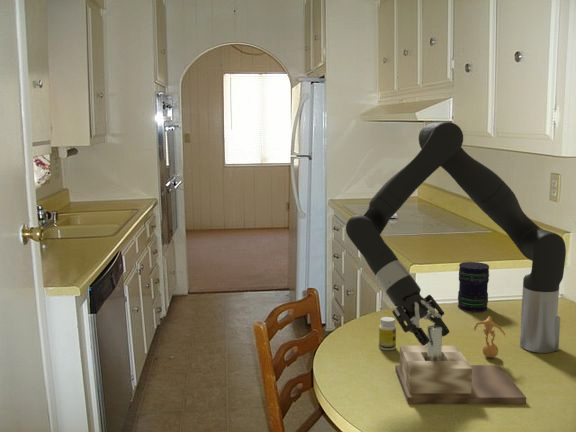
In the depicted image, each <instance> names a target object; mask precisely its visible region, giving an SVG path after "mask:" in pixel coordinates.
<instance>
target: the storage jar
mask: <svg viewBox="0 0 576 432" xmlns="http://www.w3.org/2000/svg"><path fill="white" fill-rule="evenodd" d="M458 266H459V269H458V282H459V286H458V288H459V289H458V290H459V291H458V293H457V303H458V304H457V309H459V310H461V311H464V312H468V313H483V312H486V311H488V303H489V293H488V287H489V285H488V284H489V281H490V278H489V277H490V273H489V272H490V270H489V269H490V265H489V264H488V263H483V262H477V261H476V262H475V261H467V262H466V261H464V262H461V263H459V265H458Z"/></svg>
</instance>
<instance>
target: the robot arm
mask: <svg viewBox="0 0 576 432" xmlns="http://www.w3.org/2000/svg"><path fill="white" fill-rule="evenodd" d="M463 142H464V133H463V131H462V129H461V127H460V126H459V125H458V124H456V123H454V122H450V121H435V122H430V123H429V124H426V125H424V126H423V127H422V128H421V130H420V132H419V134H418V144H419V147H420V149H421V150H419V152H418V153H417V154H416V156H415V157H413V158H412V160H411V161H409V162H408V163H407V164H406V165H405V166H404V167H403V168H402V169H400V170H399V171H398V172H396V173H395V174H394V175H392V177H390V178H389V179H388V180H387V181H386V182H385V184H383V186H382V187H381V188H379V190H378V191H377V192H376V193H375V194H374V196H373V197H372V198H371V200H370V201H369V204H368V209H367V210H366V212H365V213H364V214H356V215H353V216H351V217H350V218H349V219H348V220H347V222H346V225H345V232H346V235H347V237H348V238H349V240H350V241H351V242H352V244H353V245H354V246H355V248H356V249H357V250H358V251H359V252H360V254H361V255H362V256H363V258H364V259H365V261H366V263H367V265H368V267H369V268H370V270H371V272H372V273H373V274H374V276H375V277H376V279H377V281H378V283H379V285H380V287H382V289H383V291H384V292H385V294H386V295H387V296H388V298H389V299H390V301H391V303H392V304H393V305H394V307H395V309H393V310H392V311H391V312H392V314H393V316H394V319H395V320H397V322H398V324H399V326H400V327H401V330H402V331H403V332H405V333H408V332H410V333H412V334H413V335H414V337H415V338H416V339H417V341H418V343H420V344H421V346H427V343H428V342H429V341H430V340H429V338H428V337H427V333H425V331H424V329H423V328H422V327H420V319H424V320H427V321H429V322H432V323H433V326H440V327H442V337H445V336H447V335H448V334H449V333H450V330H449V327H448V326H447V325H446V323H445V322H444V321H443V319H442V318H443V316H444V315H445V312H444V310H443V309H442V308H441V307H440V305H439V304H438V302H437V301H436V300H435V299H434V297H433V295H431V294H428V295H426V296H425V297H423V296H422V295H421V287H420V286H419V284H418V283H417V281H416V280H415V279H414V277H413V276H412V274H410V272H409V271H408V269H407V267H405V265H404V264H403V263H402V262H401V261H400V259H398V257H397V255H396V254H395V253H394V251H393V250H392V248H390V246H389V245H388V244H387V243H386V242H385V240H384V239H383V237H382V235H381V234H382V233H383V231H384V230H385V228H386V226H387V225H388V223H389V222H390V220H391V218H392V217H393V216H394V215H395V214H396V213H397V212H398V211H399V210H400V208H402V207H403V205H404V204H405V203H406V202H407V201H408V199H409V198H410V197H411V196H412V195H413V194H414V192H415V191H416V190H417V189H418V188H419V187H420V186H421V185H422V184H423V183H424V182H425V181H426V180H427V179H428V178H429V177H430V176H432V174H433V173H435V171H437V170H438V169H439V168H440V167H441V169H443V170H444V171H445V172H446V173H448V174H449V175H450V177H451V178H452V179H453V180H454V181H455V183H456V184H457V185H458V186H459V187H460V188H461V189H462V190H463V191H464V193H466V195H468V196H469V198H470V199H471V201H473V202H474V203H475V205H476V206H477V207H478V208H479V209H480V210H481V211H483V213H484V214H485V215H486V216H487V217H488V218H490V220H492V222H493V223H495V224H496V225H497V226H498V227H499V228H501V229H502V230H503V231H504V232H505V234H507V236H508V237H509V238H510V240H511V241H512V242H513V243H514V244H515V246H516V248H517V249H518V250H519V251H520V253H521V254H522V255H523V256H524V257H525V258H526V259H527V260H529V261H531V262H532V263H531V264H532V265H531V270H530V271H531V272H530V273H528V274H526V275H524V276H523V281H522V296H521V297H522V298H521V300H522V301H521V302H522V303H521V314H520V315H521V318H520V335H519V336H520V337H519V346H520V347H521V348H522V349H524V350H526V351H528V352H534V353H539V354H546V353H547V354H548V353H549V354H550V353H553V352H558V351H559V348H560V346H559V345H560V335H561V334H560V330H561V329H560V328H561V317H560V316H559V315H558V313H559V312H558V311H559V298H560V297H559V294H560V284H561V283H562V281H563V278H564V272H565V266H566V255H567V250H566V249H567V247H566V246H567V245H566V242H565V240H564V238H563V237H562V236H561V235H559V234H558V233H556V232H552V231H550V230H546V229H543V227H542V228H541V227H540V226H538V225H537V224H536V223H535V222H534V221H533V220H532V219H530V217H529V216H527V215H526V214H525V212H524V211H523V209H522V207H521V205H520V202H519V200H518V198H517V196H516V194H515V193H514V191H513V190H512V189H511V187H509V185H508V184H507V183H506V182H505V181H504V180H503V179H502V178H501V177H500V176H499V175H498V174H497V173H495V172H494V171H493V170H492V169H490V168H489V167H487V166H486V165H484V164H483V163H481V162H480V161H478V160H477V159H475V158H473V157H472V156H471V155H469V154H468V153H467V152H466V150H464V149H463V147H462V146H463ZM435 310H437V311H435ZM406 324H407V325H406Z"/></svg>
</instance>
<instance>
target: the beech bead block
mask: <svg viewBox="0 0 576 432" xmlns="http://www.w3.org/2000/svg"><path fill="white" fill-rule="evenodd" d="M399 365H400V371H401V373H402V376H403V378H404V381H405V383H406V386H407V388H408V391H409V393H471V386H472V368H471V366H470V365H471V364H470V363H469V361H468V360H467V359H466V358H465V356H464V354H463V353H462V351H461V350H460V348H459V347H458V346H457V345H442V352H441V361H427V345H424V346H423V345H399Z"/></svg>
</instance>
